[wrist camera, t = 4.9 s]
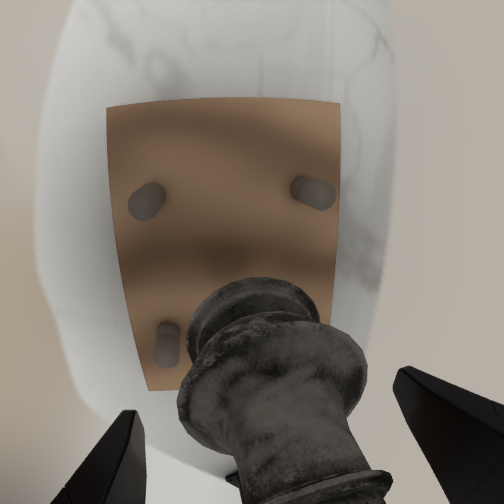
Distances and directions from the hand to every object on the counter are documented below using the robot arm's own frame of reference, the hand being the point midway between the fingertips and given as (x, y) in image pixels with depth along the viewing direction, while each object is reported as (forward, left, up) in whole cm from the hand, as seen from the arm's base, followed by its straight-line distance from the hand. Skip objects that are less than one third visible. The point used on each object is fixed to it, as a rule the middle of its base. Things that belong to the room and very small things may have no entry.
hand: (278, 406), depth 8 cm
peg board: (0, 0, -13) cm, 13 cm away
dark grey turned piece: (0, 0, -4) cm, 4 cm away
